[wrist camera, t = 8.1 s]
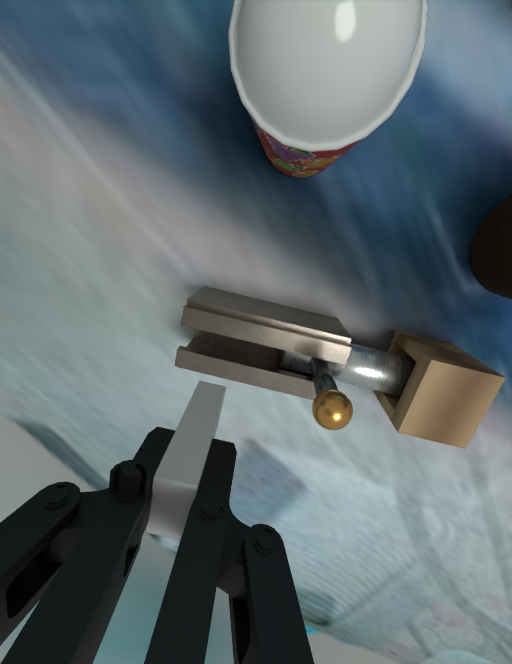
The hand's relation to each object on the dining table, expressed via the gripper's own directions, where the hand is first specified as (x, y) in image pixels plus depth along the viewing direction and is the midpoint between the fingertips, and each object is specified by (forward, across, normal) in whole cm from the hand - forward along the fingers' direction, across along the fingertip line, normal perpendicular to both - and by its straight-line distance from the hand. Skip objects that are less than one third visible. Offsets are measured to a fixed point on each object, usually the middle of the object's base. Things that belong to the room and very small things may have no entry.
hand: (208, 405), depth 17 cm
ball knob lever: (+14, +13, -1) cm, 19 cm away
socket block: (+15, +19, -1) cm, 24 cm away
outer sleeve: (+16, +3, -1) cm, 16 cm away
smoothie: (+16, +2, +17) cm, 24 cm away
